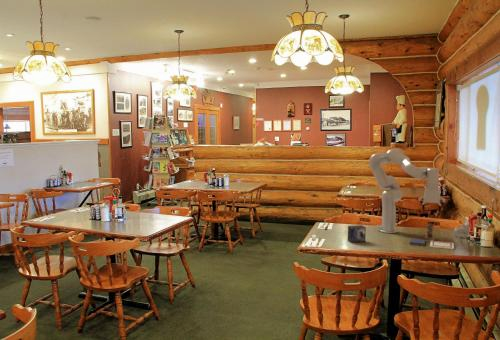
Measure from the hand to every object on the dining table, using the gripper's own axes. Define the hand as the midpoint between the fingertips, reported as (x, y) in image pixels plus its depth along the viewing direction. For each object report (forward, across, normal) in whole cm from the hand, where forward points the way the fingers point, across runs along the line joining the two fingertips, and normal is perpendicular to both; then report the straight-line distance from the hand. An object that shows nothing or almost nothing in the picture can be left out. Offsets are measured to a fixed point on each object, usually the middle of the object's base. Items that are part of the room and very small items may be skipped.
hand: (431, 210), depth 289 cm
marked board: (+20, +8, -12) cm, 25 cm away
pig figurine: (+21, +21, +18) cm, 35 cm away
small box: (+21, -46, -25) cm, 56 cm away
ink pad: (+20, -8, -12) cm, 25 cm away
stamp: (+20, 0, 0) cm, 20 cm away
